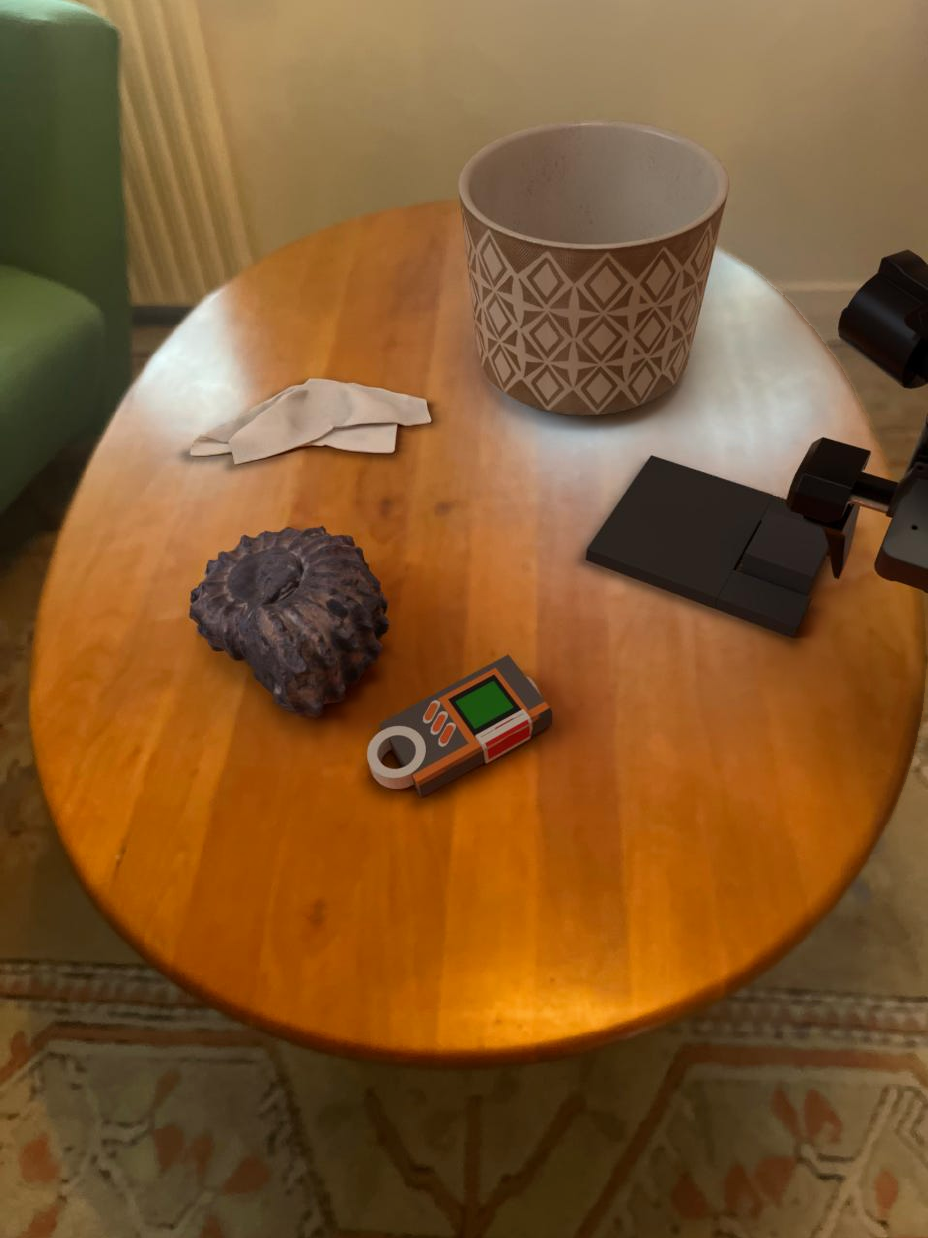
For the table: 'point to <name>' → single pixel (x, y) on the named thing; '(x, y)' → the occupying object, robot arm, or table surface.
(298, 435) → the cloth
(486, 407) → the table surface
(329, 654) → the seashell
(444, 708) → the electronic device
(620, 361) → the planter
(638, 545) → the flat black pad
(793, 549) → the dark grey square block
